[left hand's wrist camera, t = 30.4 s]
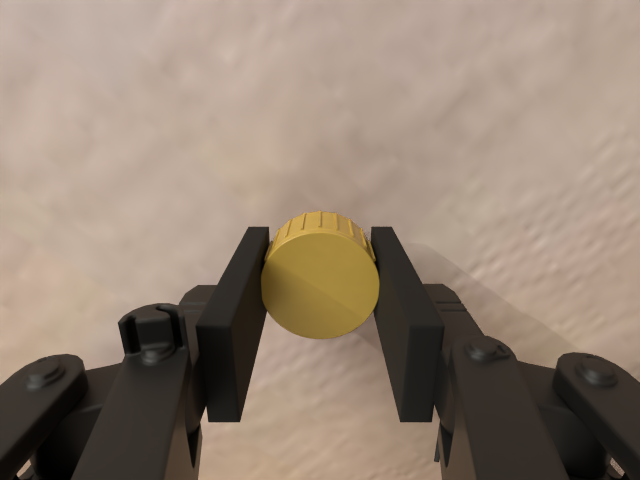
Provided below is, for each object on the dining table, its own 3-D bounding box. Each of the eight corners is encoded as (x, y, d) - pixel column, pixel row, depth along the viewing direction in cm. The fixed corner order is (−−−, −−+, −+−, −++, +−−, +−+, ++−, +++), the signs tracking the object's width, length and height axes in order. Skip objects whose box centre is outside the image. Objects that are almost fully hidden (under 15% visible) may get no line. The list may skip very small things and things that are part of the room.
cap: (248, 236, 14) (235, 261, 12) (347, 191, 14) (352, 209, 11) (296, 320, 16) (291, 356, 13) (389, 282, 15) (399, 314, 13)
